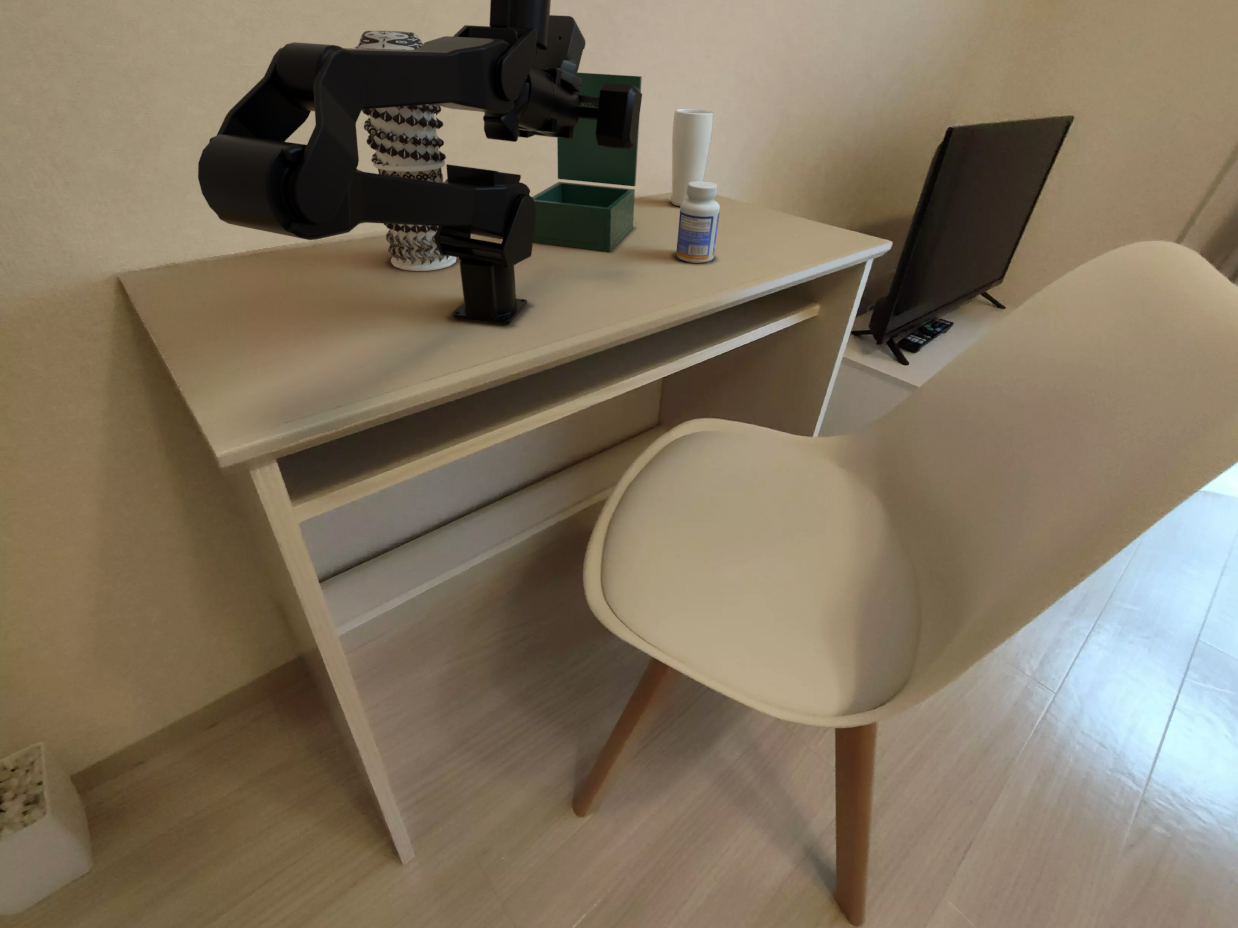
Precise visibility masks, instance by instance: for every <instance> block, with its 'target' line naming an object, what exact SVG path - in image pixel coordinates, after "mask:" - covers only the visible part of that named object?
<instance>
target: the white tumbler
mask: <svg viewBox="0 0 1238 928" xmlns="http://www.w3.org/2000/svg"><path fill="white" fill-rule="evenodd" d="M713 126H714V111H712V110H707V109H699V108H698V109H696V108H679V109H675V110H674V115H673V122H672V132H671V133H672V135H671V136H672V137H671V196H670V201H671V204H672V205H674V206H676V207H681V203H682V202H683V201H684V200H685V199H688V195H687V187H688V183H690V182H695V181H703V182H704V180H705V173H706V168H707V165H708V164H707V163H708V157H709V153H710V147H711V141H712V136H713V135H712V134H713Z"/></svg>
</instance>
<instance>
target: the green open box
mask: <svg viewBox="0 0 1238 928" xmlns="http://www.w3.org/2000/svg"><path fill="white" fill-rule="evenodd" d="M635 193H636V189H635V188H627V187H615V186H605V185H594V184H585V183H575V182H565V181H558V182H556V183H554V184H552V185H551V186H549V187H546V188H545V189H544V190H541V191H540V192H538V193H537V194H535V195H533V196H531V197H532V198H533V200H534V202H535V205H536V221H535V229H534V237H533V244H534V243H535V244H543V245H550V246H551V245H553V246H561V247H568V248H569V247H570V248H578V249H585V250H594V251H602V252H611V251H612V250H613V249H614V248H615V247H616V246H617V245H618V244H619V243H620V242H621V241H622V240H623V239H624V238H625V237H626V236H627V234H628V233H630V231H632V230H633V228H634V216H635V215H634V213H635V197H636V196H635V195H636V194H635Z"/></svg>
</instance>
